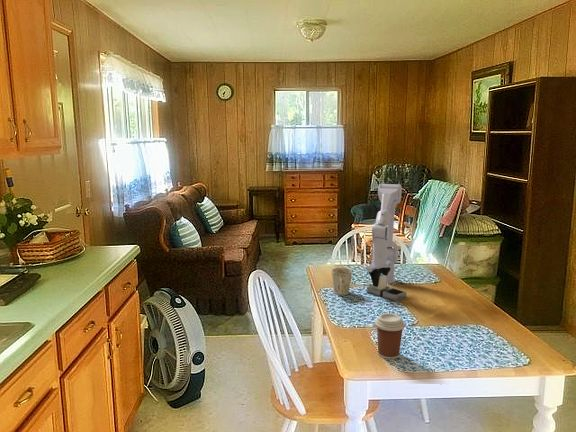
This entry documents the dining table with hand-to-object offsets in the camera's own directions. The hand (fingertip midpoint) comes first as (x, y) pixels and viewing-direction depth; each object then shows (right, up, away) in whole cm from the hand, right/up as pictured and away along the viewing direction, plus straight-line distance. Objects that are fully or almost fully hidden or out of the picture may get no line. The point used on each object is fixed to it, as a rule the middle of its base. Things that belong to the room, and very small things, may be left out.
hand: (378, 285), depth 203 cm
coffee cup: (-7, -14, -53) cm, 56 cm away
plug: (0, -3, 0) cm, 3 cm away
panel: (+3, -4, -2) cm, 5 cm away
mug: (-16, -4, -1) cm, 16 cm away
